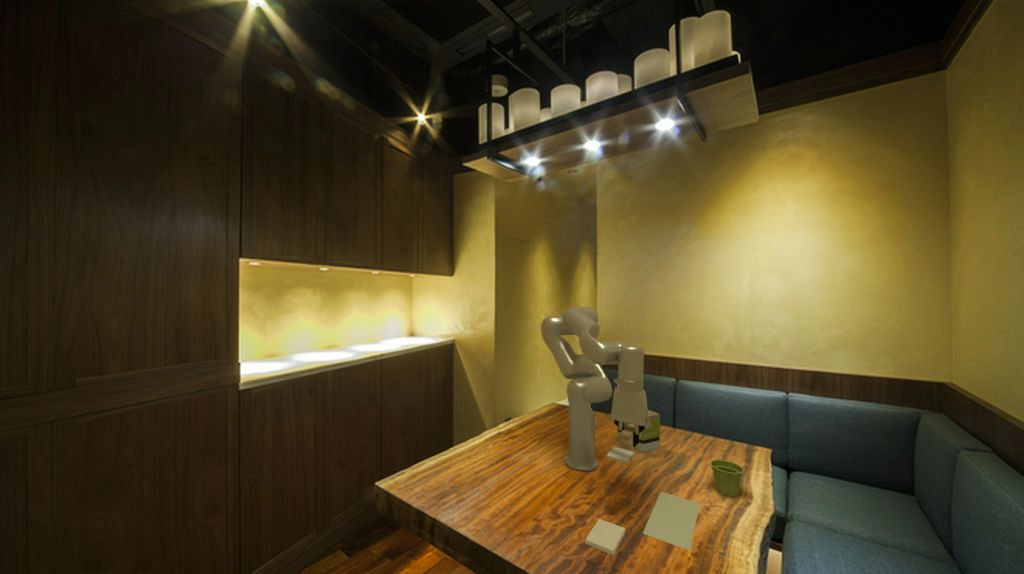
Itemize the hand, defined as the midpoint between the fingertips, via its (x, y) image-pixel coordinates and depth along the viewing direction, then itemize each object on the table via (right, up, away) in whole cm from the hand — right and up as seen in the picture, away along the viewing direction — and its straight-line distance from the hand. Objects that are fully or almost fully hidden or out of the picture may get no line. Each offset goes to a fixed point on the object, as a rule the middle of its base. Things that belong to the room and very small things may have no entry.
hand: (629, 443), depth 109 cm
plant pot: (+32, -18, +3) cm, 37 cm away
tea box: (+17, -19, +40) cm, 48 cm away
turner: (-1, -1, -2) cm, 2 cm away
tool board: (+8, -16, -11) cm, 22 cm away
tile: (-10, -15, -16) cm, 24 cm away
